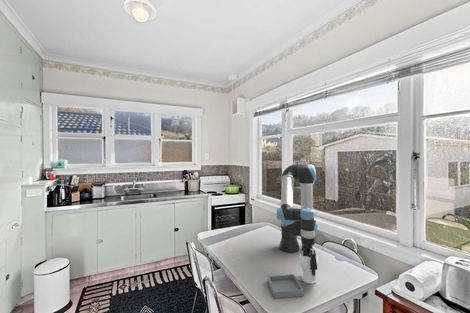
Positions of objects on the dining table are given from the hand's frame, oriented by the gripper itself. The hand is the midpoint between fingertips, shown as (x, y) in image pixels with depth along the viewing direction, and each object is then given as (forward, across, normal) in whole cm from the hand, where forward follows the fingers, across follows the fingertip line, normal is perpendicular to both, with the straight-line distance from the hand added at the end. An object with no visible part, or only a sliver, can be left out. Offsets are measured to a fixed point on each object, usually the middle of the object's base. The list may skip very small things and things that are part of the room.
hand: (308, 275), depth 130 cm
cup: (+3, 0, 0) cm, 3 cm away
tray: (+3, +6, -16) cm, 17 cm away
